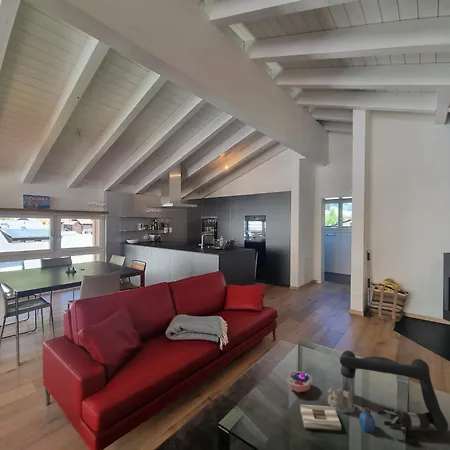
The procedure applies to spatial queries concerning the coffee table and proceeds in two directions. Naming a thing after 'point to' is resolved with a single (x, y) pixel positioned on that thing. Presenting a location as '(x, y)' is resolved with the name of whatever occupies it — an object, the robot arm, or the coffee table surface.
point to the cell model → (299, 381)
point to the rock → (341, 401)
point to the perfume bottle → (367, 420)
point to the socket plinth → (320, 418)
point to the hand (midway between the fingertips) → (380, 417)
